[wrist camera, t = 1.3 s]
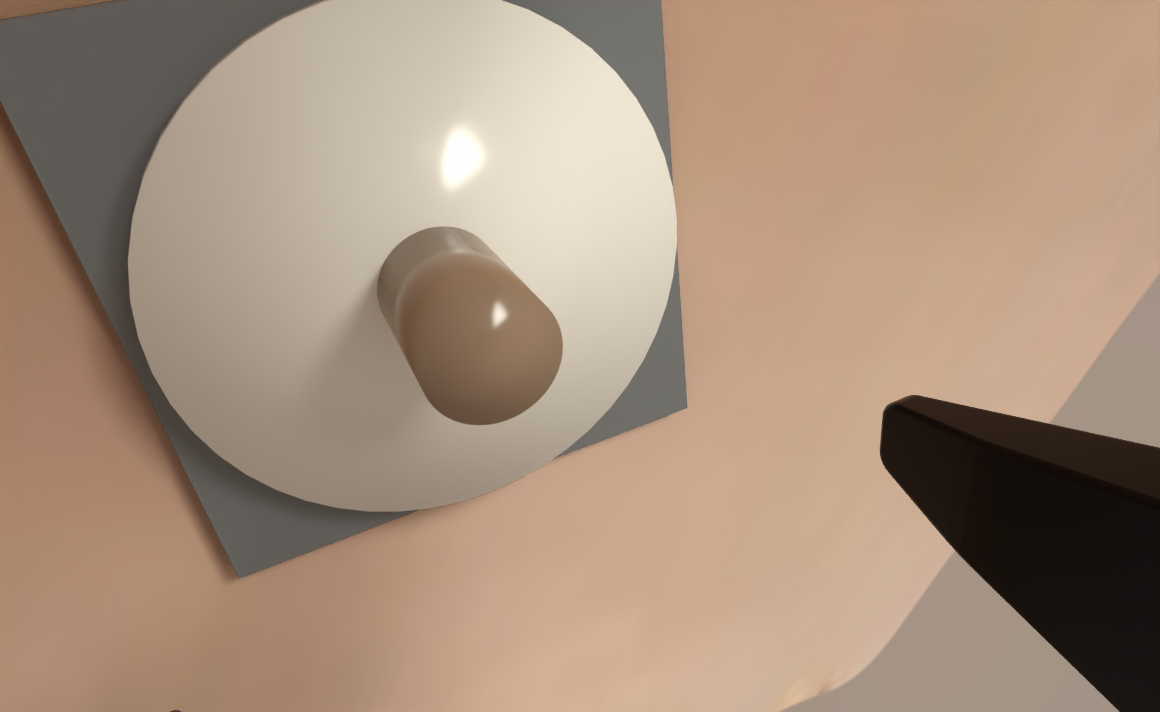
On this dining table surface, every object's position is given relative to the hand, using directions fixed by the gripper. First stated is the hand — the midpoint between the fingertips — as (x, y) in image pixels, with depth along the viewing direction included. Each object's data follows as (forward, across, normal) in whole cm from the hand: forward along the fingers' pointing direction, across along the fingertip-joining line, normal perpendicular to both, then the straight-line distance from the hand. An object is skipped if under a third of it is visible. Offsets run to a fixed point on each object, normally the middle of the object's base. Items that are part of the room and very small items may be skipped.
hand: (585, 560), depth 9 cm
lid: (+12, -1, +1) cm, 12 cm away
